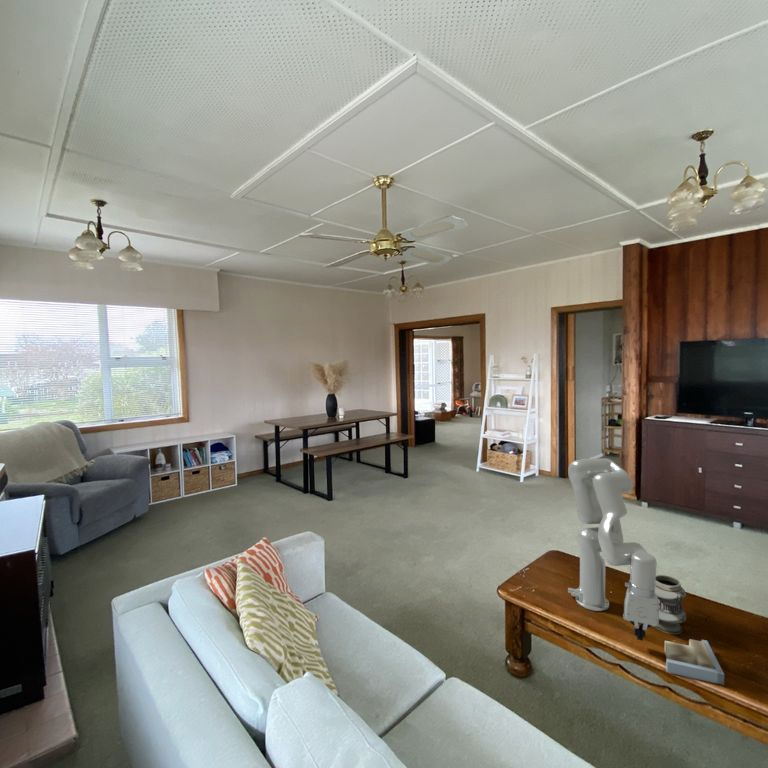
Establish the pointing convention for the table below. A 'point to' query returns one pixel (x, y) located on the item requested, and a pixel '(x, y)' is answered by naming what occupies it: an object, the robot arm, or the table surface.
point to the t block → (689, 653)
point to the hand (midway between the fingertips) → (639, 637)
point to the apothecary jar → (670, 604)
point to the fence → (698, 669)
